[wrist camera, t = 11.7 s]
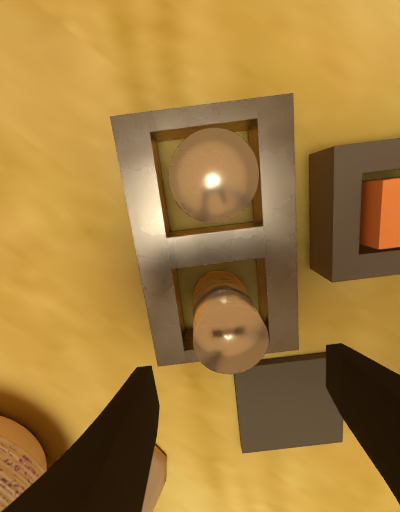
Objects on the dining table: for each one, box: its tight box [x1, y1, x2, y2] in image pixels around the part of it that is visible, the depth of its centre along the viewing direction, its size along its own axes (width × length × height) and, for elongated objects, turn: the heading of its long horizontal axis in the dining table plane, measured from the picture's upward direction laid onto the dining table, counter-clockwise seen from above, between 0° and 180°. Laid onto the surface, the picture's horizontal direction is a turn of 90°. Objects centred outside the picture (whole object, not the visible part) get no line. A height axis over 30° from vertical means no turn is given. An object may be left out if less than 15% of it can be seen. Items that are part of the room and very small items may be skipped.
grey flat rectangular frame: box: [110, 93, 299, 366], centre depth 16 cm, size 10×16×2 cm, turn 7°
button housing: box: [309, 138, 400, 282], centre depth 16 cm, size 8×8×3 cm
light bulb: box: [169, 128, 259, 223], centre depth 14 cm, size 4×4×6 cm
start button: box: [359, 177, 400, 249], centre depth 15 cm, size 4×4×3 cm
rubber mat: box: [234, 353, 343, 453], centre depth 21 cm, size 9×9×1 cm
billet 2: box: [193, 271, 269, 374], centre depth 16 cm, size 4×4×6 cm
